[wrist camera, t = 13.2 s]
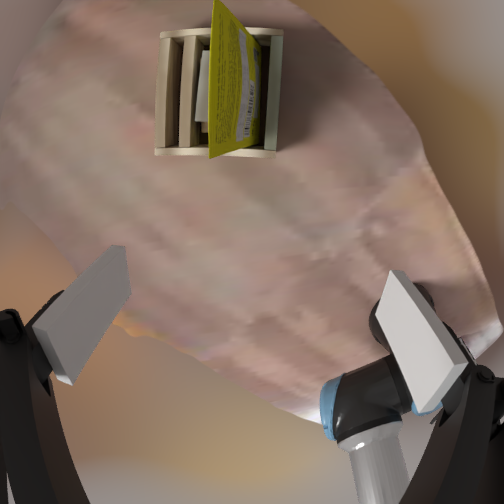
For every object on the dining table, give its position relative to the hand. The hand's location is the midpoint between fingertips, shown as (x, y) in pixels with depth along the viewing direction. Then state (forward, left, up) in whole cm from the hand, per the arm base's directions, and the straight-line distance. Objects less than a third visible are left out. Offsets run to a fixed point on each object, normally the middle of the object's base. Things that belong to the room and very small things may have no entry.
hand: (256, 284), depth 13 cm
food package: (+1, -12, -32) cm, 34 cm away
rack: (+6, -12, -32) cm, 34 cm away
